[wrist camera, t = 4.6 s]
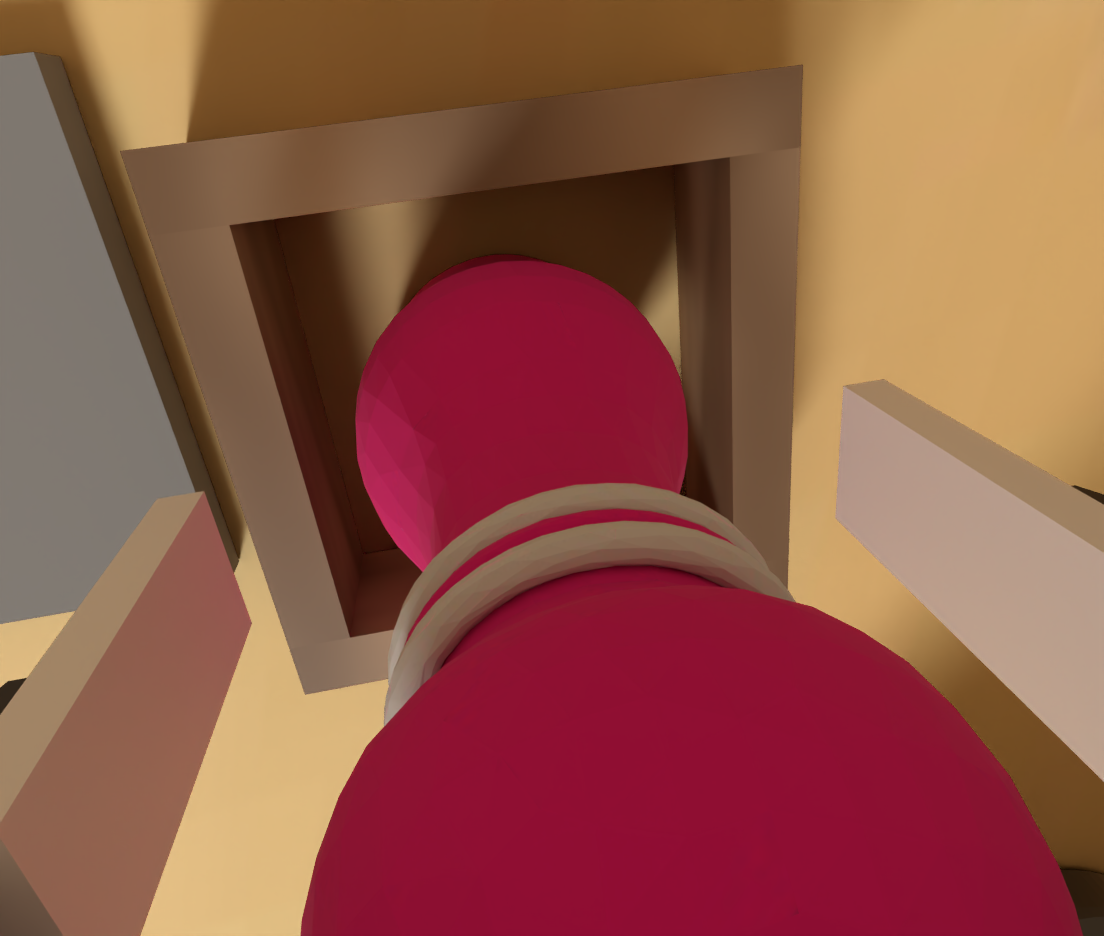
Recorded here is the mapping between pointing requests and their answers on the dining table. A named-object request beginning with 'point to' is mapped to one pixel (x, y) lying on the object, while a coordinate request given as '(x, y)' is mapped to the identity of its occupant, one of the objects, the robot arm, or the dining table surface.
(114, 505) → the coaster
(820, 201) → the dining table surface
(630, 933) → the pepper mill
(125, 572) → the robot arm
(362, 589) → the brown wooden square tray
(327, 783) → the dining table surface
